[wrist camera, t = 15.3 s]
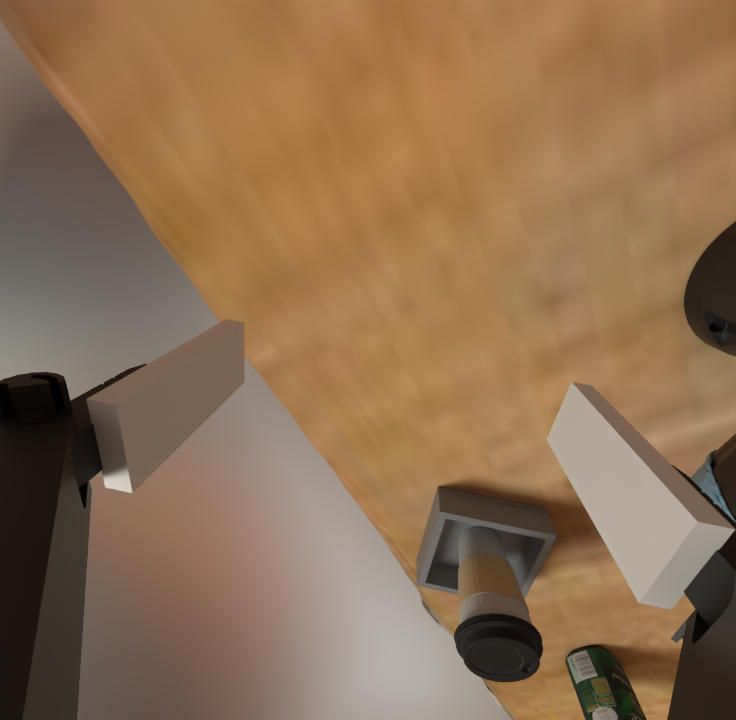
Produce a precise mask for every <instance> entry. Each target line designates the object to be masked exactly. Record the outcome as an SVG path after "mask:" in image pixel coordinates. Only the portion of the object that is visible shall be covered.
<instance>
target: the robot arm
mask: <svg viewBox="0 0 736 720" xmlns="http://www.w3.org/2000/svg"><path fill="white" fill-rule="evenodd" d="M684 308H685V314H686V318H687V321H688V323H689V325H690V327H691V329H692V330H693V332H694V333H695V334H696V335H697V336H698V337H699V338H700V339H701V340H702V341H703V342H705V343H706V344H708V345H710V346H712V347H714V348H716V349H718V350H721V351H723V352H725V353H727V354H730V355H732V356H735V357H736V223H734V224H733V225H731V226H730V227H729V228H728V229H726V230H725V231H724V232H723V233H722V234H720V235H719V236H718V237H717V238H716V239H715V240H714V241H713V242H712V243H711V244H710V246H709V247H708V248H707V249H706V250H705V251H704V253H703V254H702V256H701V257H700V258H699V260H698V262H697V263H696V265H695V267H694V268H693V270H692V273H691V275H690V277H689V280H688V283H687V286H686V290H685V297H684ZM243 383H244V322H238V321H233V320H227V319H226V320H224V321H223V322H221V323H219V324H217V325H216V326H214V327H212V328H210V329H208V330H207V331H205V332H203V333H201V334H200V335H198V336H196V337H194V338H193V339H191V340H189V341H187V342H186V343H184V344H182V345H180V346H179V347H177V348H175V349H173V350H172V351H170V352H168V353H166V354H165V355H163V356H161V357H159V358H158V359H156V360H154V361H152V362H151V363H149V364H143V365H140V366H137V367H133V368H130V369H128V370H126V371H124V372H122V373H120V374H119V375H117V376H115V378H111V379H109V380H108V381H106V382H104V384H100V385H99V386H97V387H95V388H93V389H91V390H89V391H88V392H86V393H84V394H82V395H80V396H79V397H77V398H75V399H73V400H71V401H70V398H69V394H68V389H67V385H66V381H65V378H64V377H63V376H61V375H59V374H56V373H49V372H40V373H39V372H38V373H29V374H21V375H16V376H13V377H10V378H6V379H3V380H1V381H0V720H77V711H78V695H79V680H80V679H79V678H80V663H81V647H82V633H83V616H84V602H85V601H84V600H85V586H86V570H87V569H86V568H87V555H88V539H89V523H90V507H91V492H92V490H91V486H90V481H89V480H90V479H91V478H93V477H94V476H95V475H96V474H98V473H99V472H100V471H101V470H102V474H103V479H104V483H105V487H106V488H111V489H116V490H120V491H125V492H129V493H133V492H134V491H135V490H136V489H137V488H138V487H139V486H140V485H141V484H142V483H143V482H144V481H145V480H146V479H147V478H148V477H149V476H150V475H151V474H152V473H153V472H154V471H155V470H156V469H157V468H158V467H159V466H160V465H161V464H162V463H163V462H164V461H165V460H166V459H167V458H168V457H169V456H170V455H171V454H172V453H173V452H174V451H175V450H176V449H177V448H178V447H179V446H180V445H181V444H182V443H183V442H184V441H185V440H186V439H187V438H188V437H189V436H190V435H191V434H192V433H193V432H194V431H195V430H196V429H197V428H198V427H199V426H201V424H203V422H205V421H206V420H207V419H208V418H209V417H210V415H211V414H212V413H214V412H215V411H216V410H217V409H218V407H220V405H222V404H223V403H224V402H225V401H226V400H227V399H228V397H230V396H231V395H232V394H233V393H234V392H235V391H236V389H238V388H239V386H241V385H242V384H243ZM547 442H548V443H549V445H550V447H551V449H552V450H553V452H554V454H555V456H556V457H557V459H558V461H559V463H560V465H561V466H562V468H563V470H564V472H565V473H566V475H567V477H568V479H569V480H570V482H571V484H572V486H573V488H574V489H575V491H576V493H577V495H578V496H579V498H580V500H581V502H582V503H583V505H584V507H585V509H586V511H587V512H588V514H589V516H590V518H591V519H592V521H593V523H594V525H595V526H596V528H597V530H598V532H599V534H600V535H601V537H602V539H603V541H604V542H605V544H606V546H607V548H608V549H609V551H610V553H611V555H612V557H613V558H614V560H615V562H616V564H617V565H618V567H619V569H620V571H621V572H622V574H623V576H624V578H625V580H626V581H627V583H628V585H629V587H630V588H631V590H632V592H633V594H634V595H635V597H636V599H637V601H638V603H642V604H647V605H651V606H656V607H661V608H665V609H670V610H671V609H672V608H673V607H674V606H675V604H676V603H677V602H678V601H679V599H680V598H681V597H682V596H683V594H684V593H685V594H686V596H687V597H688V599H689V600H690V601H691V603H692V604H693V606H694V607H695V611H694V612H693V613H692V614H691V615H690V617H689V618H688V619H687V620H686V621H685V622H684V624H683V625H682V626H681V627H680V628H679V629H678V631H677V632H676V633H675V634H674V636H673V637H672V638H671V639H672V640H673V641H675V642H676V643H677V642H678V641H679V640H680V639H681V638H684V639H683V644H682V649H681V654H680V659H679V664H678V669H677V674H676V679H675V684H674V689H673V694H672V699H671V704H670V709H669V714H668V719H667V720H736V434H735V435H734V436H733V437H731V438H730V439H729V440H728V441H727V442H726V443H725V444H724V445H722V446H721V447H720V448H719V449H718V450H714V451H712V452H711V453H710V454H709V455H708V456H707V458H706V461H705V463H704V464H703V465H702V466H701V467H700V468H699V469H698V470H697V471H696V473H695V474H694V475H693V476H692V477H691V478H690V477H689V476H687V475H686V474H684V473H683V472H681V471H680V470H679V469H677V468H676V467H674V466H673V465H671V464H670V463H669V462H668V461H667V460H666V459H665V458H664V457H663V456H662V455H661V454H660V453H659V452H658V451H657V450H656V449H655V448H654V447H653V446H652V445H651V444H650V443H649V442H648V441H647V440H646V439H645V438H644V437H643V436H642V435H641V434H640V433H639V432H638V431H637V430H636V429H635V428H634V427H633V426H632V425H631V424H630V423H629V422H628V421H627V420H626V419H625V418H624V417H623V416H622V415H621V414H620V413H619V412H618V411H617V410H616V409H615V408H614V407H613V406H612V405H611V404H610V403H609V402H608V401H607V400H606V399H605V398H604V397H603V396H602V395H601V394H600V393H599V392H598V391H597V390H596V389H595V388H594V387H593V386H591V385H586V384H580V383H575V382H571V384H570V387H569V389H568V391H567V394H566V396H565V398H564V401H563V403H562V405H561V408H560V410H559V412H558V415H557V417H556V419H555V422H554V424H553V426H552V429H551V431H550V433H549V436H548V438H547Z"/></svg>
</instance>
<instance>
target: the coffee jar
mask: <svg viewBox="0 0 736 720" xmlns="http://www.w3.org/2000/svg"><path fill="white" fill-rule="evenodd" d="M566 665H567V668H568V671H569V674H570V677H571V680H572V683H573V685H574V688H575V691H576V694H577V697H578V699H579V702H580V705H581V708H582V711H583V714H584V717H585V719H586V720H646V717H645V715H644V713H643V711H642V709H641V706H640V704H639V702H638V700H637V698H636V695H635V693H634V691H633V689H632V686H631V684H630V682H629V680H628V678H627V675H626V673H625V671H624V669H623V668H622V666H621V665H620V663H619V662H618V661H617V660H616V659H615V658H614V657H613V656H612V655H611V654H610V653H609V652H608V651H606V650H605V649H603V648H600V647H583V648H579V649H576V650H574V651H573V652H572V653H570V654H569V655H568V656H567V657H566Z"/></svg>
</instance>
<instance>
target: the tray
mask: <svg viewBox="0 0 736 720" xmlns="http://www.w3.org/2000/svg"><path fill="white" fill-rule="evenodd" d="M472 527H484V528H488V529H491V530H493V531H494V532H496V533H497V534H498V536H499V537H500V540H501V543H502V545H503V548H504V550H505V553H506V556H507V558H508V561H509V563H510V565H511V566H512V568H513V571H514V573H515V576H516V579H517V581H518V584H519V587H520V589H521V592H522V594H523V597H524V599H525V597H526V595H527V593H528V591H529V589H530V587H531V585H532V584H533V582H534V580H535V578H536V576H537V574H538V572H539V570H540V568H541V566H542V564H543V562H544V560H545V558H546V556H547V554H548V552H549V551H550V549H551V547H552V545H553V543H554V541H555V539H556V537H557V535H556V532H555V530H554V528H553V525H552V523H551V521H550V518H549V516H548V514H547V511H546V509H545V508H541V507H536V506H531V505H526V504H521V503H516V502H511V501H506V500H501V499H496V498H491V497H487V496H482V495H477V494H472V493H467V492H462V491H457V490H452V489H447V488H442V487H438V488H437V491H436V495H435V498H434V502H433V505H432V509H431V512H430V515H429V519H428V522H427V526H426V529H425V532H424V536H423V539H422V543H421V546H420V549H419V553H418V556H417V586H421V587H425V588H430V589H434V590H439V591H443V592H448V593H452V594H457V595H458V569H459V539H460V536H461V534H462V533H463V532H464V531H465V530H467V529H468V528H472Z"/></svg>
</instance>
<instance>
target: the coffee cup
mask: <svg viewBox="0 0 736 720" xmlns="http://www.w3.org/2000/svg"><path fill="white" fill-rule="evenodd" d="M458 611H459V618H460V625H459V626H458V627H457V629H456V631H455V634H454V640H455V643H456V648H457V651H458V653H459V654H460V656H461V657H462V658H463V660H464V663H465V665H466V666H467V668H468V669H469V670H470V671H471V672H473V673H474V674H476V675H477V676H479V677H482V678H484V679H487V680H491V681H497V682H515V681H520V680H524V679H526V678H528V677H530V676H532V675H533V674H534V673H535V672H536V671H537V670H538V668H539V665H540V658H541V656H542V652H543V646H542V638H541V635H540V633H539V632H538V630H537V629H536V628H535V627H534V626H533V625H532V622H531V619H530V617H529V611H528V608H527V605H526V602H525V600H524V597H523V594H522V592H521V589H520V587H519V584H518V581H517V579H516V576H515V573H514V571H513V568H512V566H511V565H510V563H509V561H508V558H507V556H506V553H505V550H504V548H503V545H502V543H501V540H500V537H499V536H498V534H497V533H496V532H494V531H493V530H491V529H488V528H484V527H472V528H468V529H467V530H465V531H464V532H463V533H462V534H461V536H460V539H459V569H458Z"/></svg>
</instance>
